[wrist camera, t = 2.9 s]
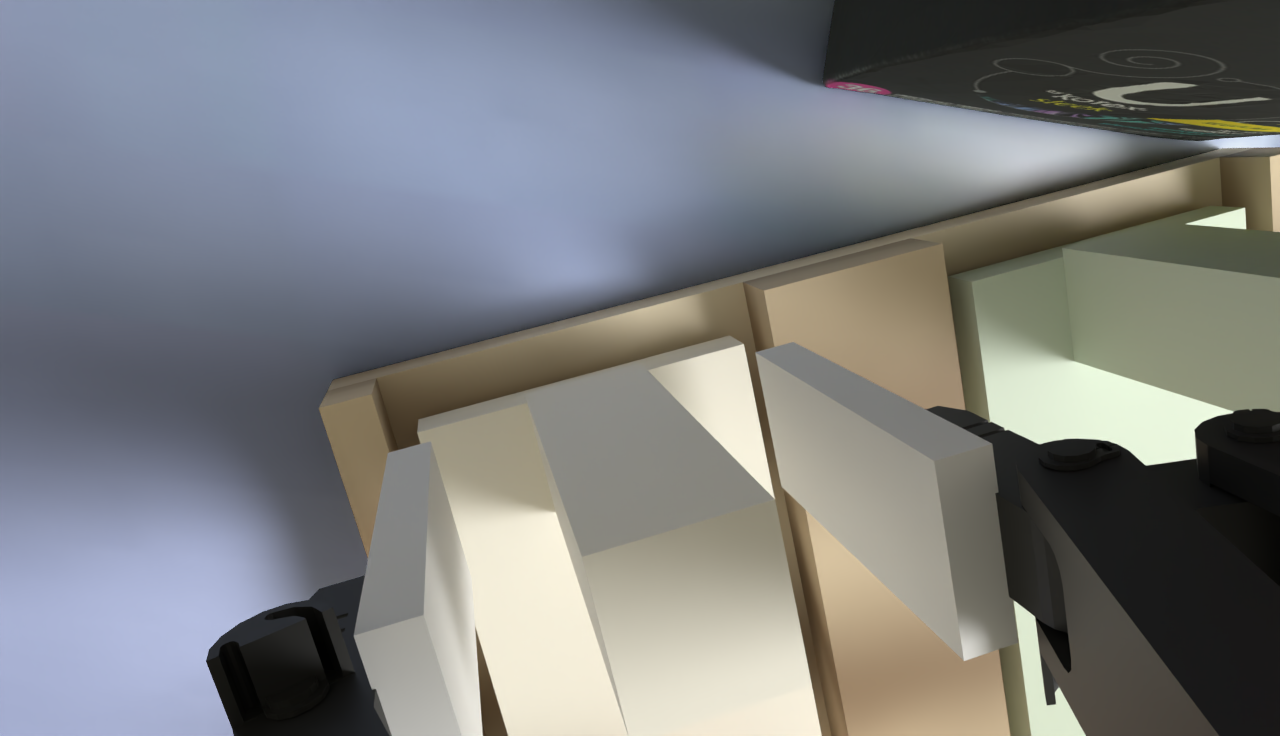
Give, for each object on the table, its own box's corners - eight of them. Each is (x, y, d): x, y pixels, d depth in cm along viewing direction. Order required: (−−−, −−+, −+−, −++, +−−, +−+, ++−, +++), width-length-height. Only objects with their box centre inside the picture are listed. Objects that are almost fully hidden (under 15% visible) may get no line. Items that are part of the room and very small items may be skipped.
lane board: (332, 379, 20) (310, 423, 17) (1222, 148, 23) (1354, 145, 20) (538, 1023, 24) (554, 1158, 21) (1257, 755, 28) (1369, 837, 24)
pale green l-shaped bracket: (946, 267, 21) (1300, 342, 12) (1209, 197, 22) (1708, 219, 13) (1025, 842, 25) (1334, 1201, 16) (1244, 760, 26) (1645, 1058, 17)
